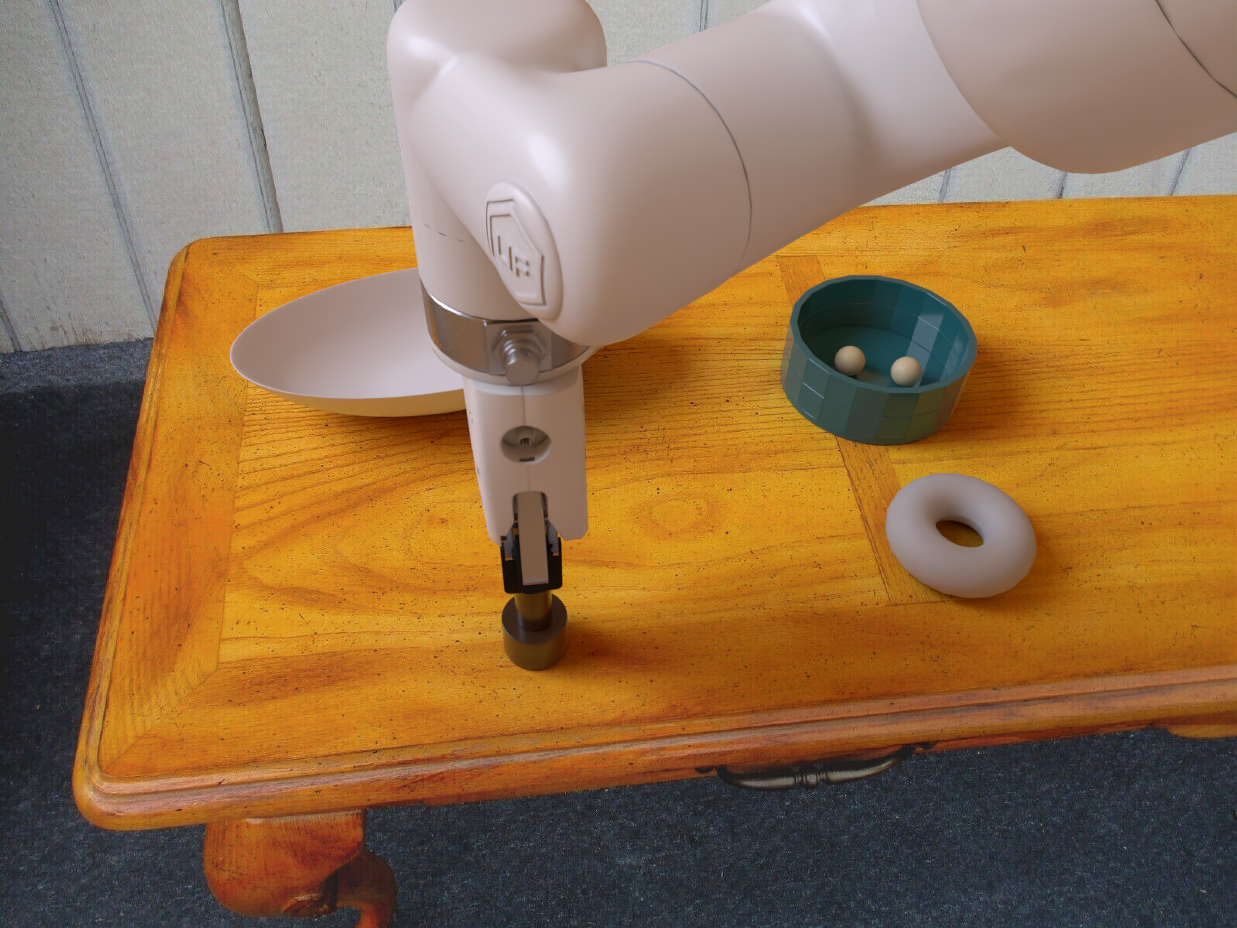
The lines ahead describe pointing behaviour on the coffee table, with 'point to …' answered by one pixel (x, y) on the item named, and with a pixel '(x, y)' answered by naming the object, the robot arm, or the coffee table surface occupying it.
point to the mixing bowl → (876, 358)
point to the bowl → (352, 351)
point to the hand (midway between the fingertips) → (530, 560)
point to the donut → (947, 562)
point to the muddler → (535, 629)
